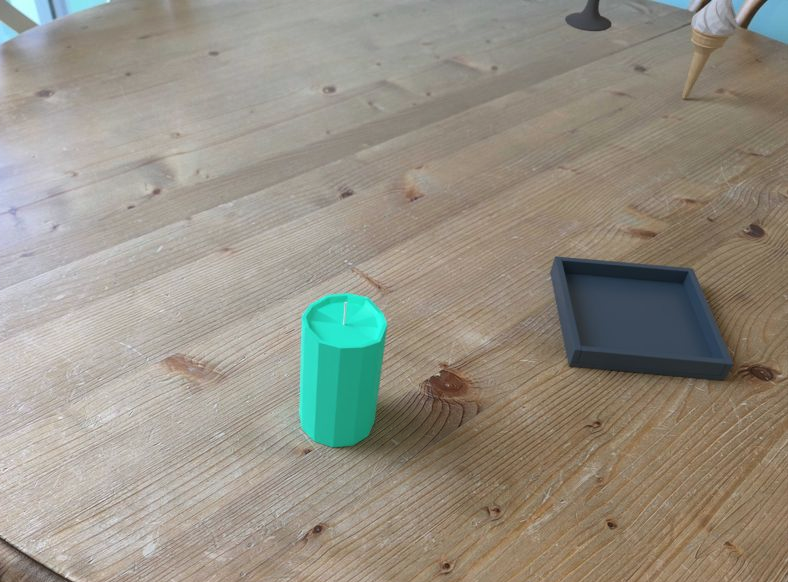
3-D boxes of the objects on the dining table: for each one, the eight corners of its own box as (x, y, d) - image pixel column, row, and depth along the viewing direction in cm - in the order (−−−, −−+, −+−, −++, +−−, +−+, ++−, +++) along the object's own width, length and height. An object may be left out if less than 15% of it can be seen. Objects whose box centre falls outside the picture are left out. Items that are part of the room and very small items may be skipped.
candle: (316, 457, 56) (323, 341, 48) (287, 402, 60) (288, 286, 52) (387, 434, 58) (405, 319, 50) (354, 382, 62) (366, 267, 54)
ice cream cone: (670, 86, 106) (712, -27, 96) (710, 97, 104) (758, -17, 94) (658, 100, 103) (700, -16, 92) (699, 112, 101) (747, -5, 90)
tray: (685, 284, 73) (693, 268, 72) (724, 380, 64) (734, 364, 63) (550, 272, 74) (555, 256, 73) (568, 366, 65) (574, 349, 63)
